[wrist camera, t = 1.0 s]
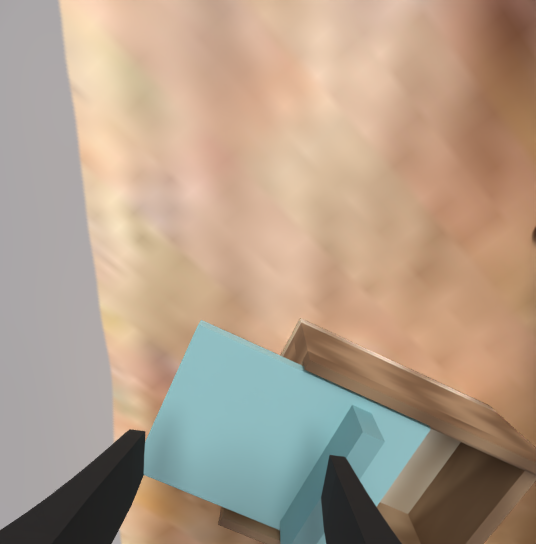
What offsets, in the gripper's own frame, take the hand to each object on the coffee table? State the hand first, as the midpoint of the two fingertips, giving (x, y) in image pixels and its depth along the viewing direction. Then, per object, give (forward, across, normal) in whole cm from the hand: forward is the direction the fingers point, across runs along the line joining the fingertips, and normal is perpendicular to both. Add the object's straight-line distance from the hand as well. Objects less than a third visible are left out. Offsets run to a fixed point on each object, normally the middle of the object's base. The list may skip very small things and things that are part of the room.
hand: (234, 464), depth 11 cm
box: (+10, -9, +6) cm, 15 cm away
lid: (+5, -2, +4) cm, 7 cm away
